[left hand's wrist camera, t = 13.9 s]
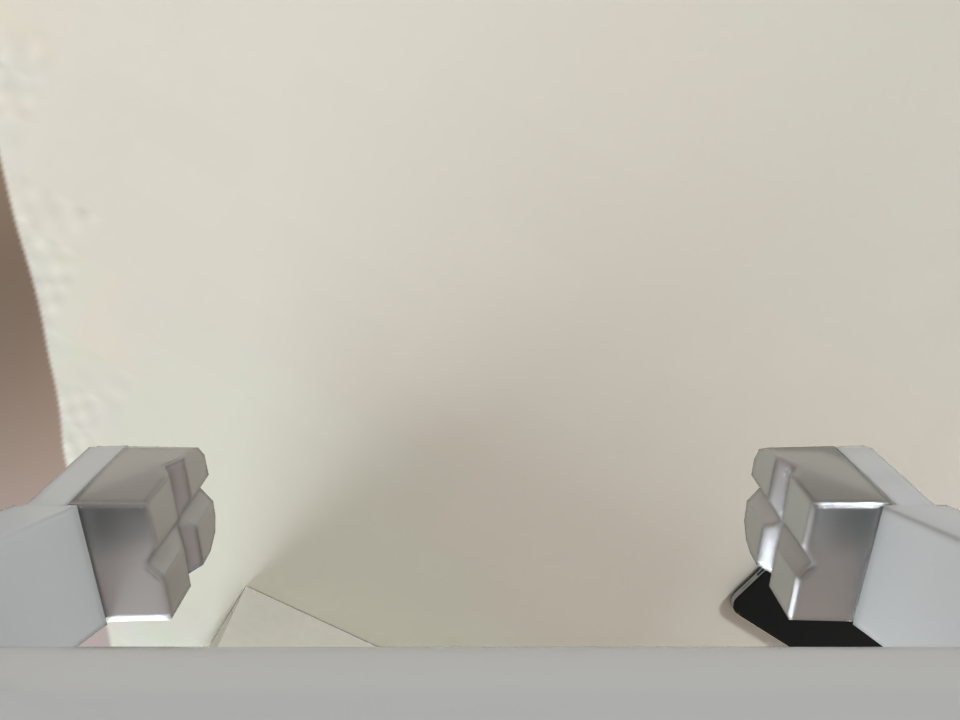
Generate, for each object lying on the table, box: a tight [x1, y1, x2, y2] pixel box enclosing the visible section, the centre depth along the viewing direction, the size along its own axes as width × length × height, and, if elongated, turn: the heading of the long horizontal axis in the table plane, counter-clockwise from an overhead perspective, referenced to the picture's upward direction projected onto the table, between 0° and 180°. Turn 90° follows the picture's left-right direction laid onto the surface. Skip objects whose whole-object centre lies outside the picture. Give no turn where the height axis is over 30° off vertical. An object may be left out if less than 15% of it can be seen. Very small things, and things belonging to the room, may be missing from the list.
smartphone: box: [731, 568, 883, 647], centre depth 50 cm, size 7×1×15 cm
